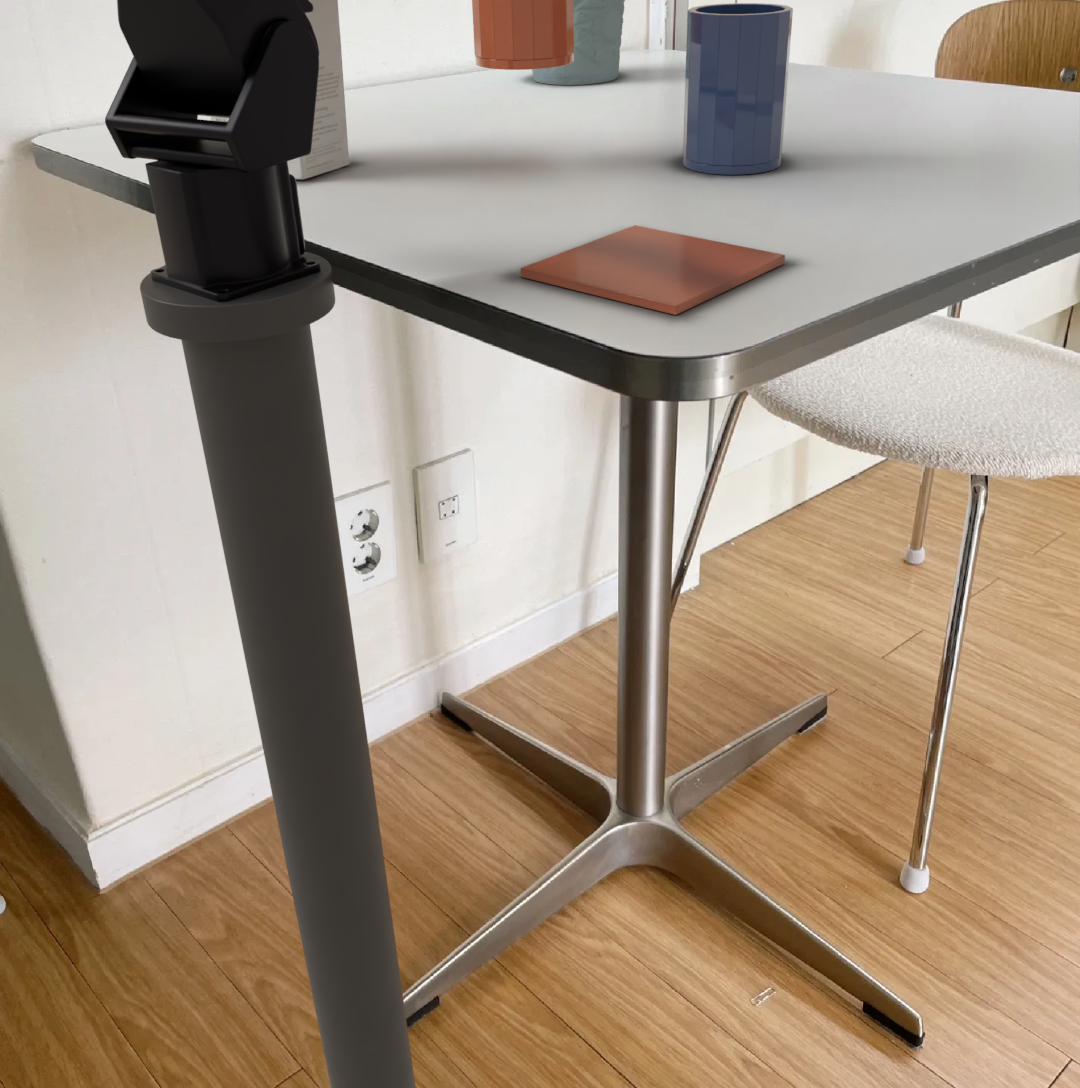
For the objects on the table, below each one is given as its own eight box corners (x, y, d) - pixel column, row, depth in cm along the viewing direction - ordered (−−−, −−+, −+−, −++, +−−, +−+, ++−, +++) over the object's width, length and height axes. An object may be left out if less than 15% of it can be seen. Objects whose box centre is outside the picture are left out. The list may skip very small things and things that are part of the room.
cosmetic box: (216, 172, 84) (177, -57, 76) (269, 155, 88) (237, -64, 81) (308, 182, 80) (277, -58, 73) (359, 164, 85) (334, -64, 77)
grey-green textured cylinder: (523, 72, 119) (519, -58, 113) (620, 68, 120) (620, -62, 114) (532, 88, 110) (528, -52, 104) (636, 83, 111) (638, -56, 105)
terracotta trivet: (675, 315, 55) (676, 305, 55) (520, 277, 61) (519, 267, 60) (784, 263, 61) (785, 254, 61) (634, 233, 67) (634, 224, 67)
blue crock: (746, 179, 77) (756, 17, 72) (664, 166, 81) (668, 11, 76) (798, 160, 82) (811, 6, 76) (717, 149, 85) (725, 1, 80)
